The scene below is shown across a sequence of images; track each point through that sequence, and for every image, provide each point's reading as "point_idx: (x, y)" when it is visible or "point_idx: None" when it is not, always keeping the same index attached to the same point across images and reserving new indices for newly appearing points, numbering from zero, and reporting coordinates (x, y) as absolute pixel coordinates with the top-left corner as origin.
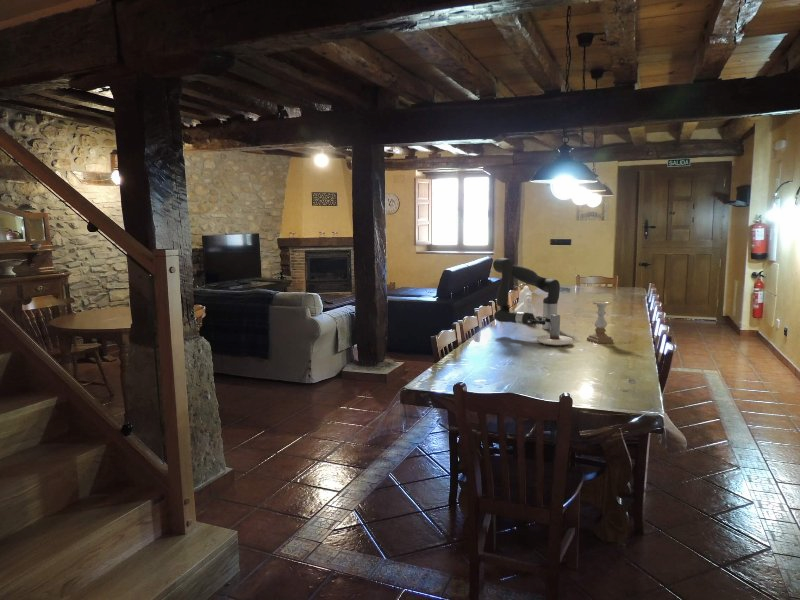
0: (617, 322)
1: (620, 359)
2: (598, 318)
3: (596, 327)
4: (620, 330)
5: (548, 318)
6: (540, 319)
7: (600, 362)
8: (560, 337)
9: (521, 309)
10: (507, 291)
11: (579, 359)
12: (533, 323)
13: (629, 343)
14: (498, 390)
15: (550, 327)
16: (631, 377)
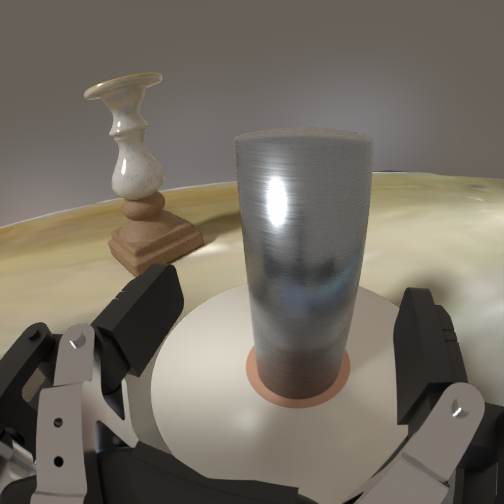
0: None
1: (376, 195)
2: (140, 152)
3: (140, 197)
4: (16, 245)
5: (115, 305)
6: (167, 456)
7: (440, 211)
8: (235, 340)
9: None
10: None
11: (466, 238)
12: (493, 482)
13: (167, 207)
14: None
15: (345, 312)
16: (464, 186)
